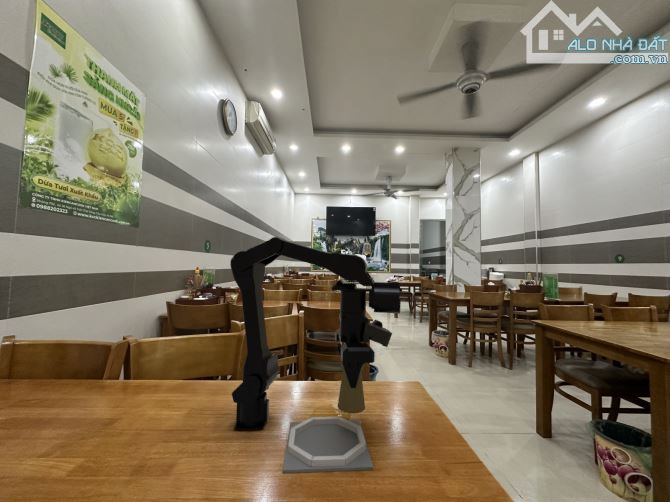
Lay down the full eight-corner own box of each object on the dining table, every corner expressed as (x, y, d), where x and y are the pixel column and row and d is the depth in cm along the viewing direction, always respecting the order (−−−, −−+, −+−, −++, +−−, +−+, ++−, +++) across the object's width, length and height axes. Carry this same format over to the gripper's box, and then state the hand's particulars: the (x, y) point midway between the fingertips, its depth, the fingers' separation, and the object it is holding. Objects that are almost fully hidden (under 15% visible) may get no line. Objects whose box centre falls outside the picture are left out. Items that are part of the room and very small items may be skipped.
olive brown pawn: (363, 415, 60) (364, 360, 61) (335, 411, 62) (336, 358, 62) (366, 402, 66) (367, 352, 67) (340, 399, 68) (341, 350, 68)
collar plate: (282, 473, 51) (282, 463, 51) (290, 424, 67) (290, 416, 67) (373, 469, 52) (373, 459, 52) (359, 422, 68) (359, 414, 68)
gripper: (401, 319, 56) (400, 402, 56) (379, 306, 75) (378, 368, 74) (343, 318, 56) (341, 403, 55) (335, 305, 74) (334, 368, 73)
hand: (351, 383), depth 64 cm, fingers closed on olive brown pawn, 5 cm apart
